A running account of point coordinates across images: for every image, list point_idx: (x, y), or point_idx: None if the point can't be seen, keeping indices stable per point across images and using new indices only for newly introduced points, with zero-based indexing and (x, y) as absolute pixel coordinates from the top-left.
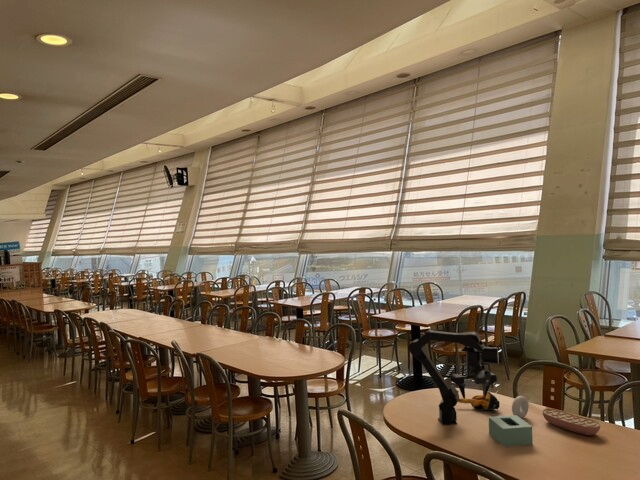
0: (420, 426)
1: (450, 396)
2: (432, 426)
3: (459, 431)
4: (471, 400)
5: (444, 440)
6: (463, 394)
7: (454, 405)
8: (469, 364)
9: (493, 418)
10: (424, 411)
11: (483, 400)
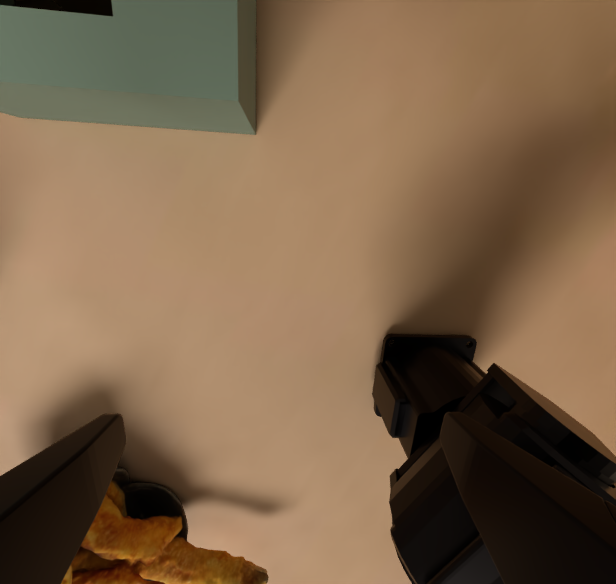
0: (600, 339)
1: (607, 487)
2: (540, 327)
3: (432, 224)
4: (176, 567)
5: (609, 104)
6: (528, 456)
7: (486, 397)
8: None
9: (199, 29)
10: None
11: (97, 545)
